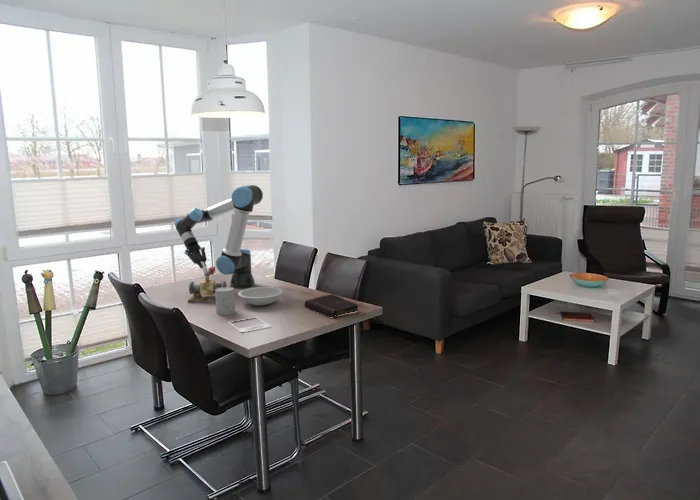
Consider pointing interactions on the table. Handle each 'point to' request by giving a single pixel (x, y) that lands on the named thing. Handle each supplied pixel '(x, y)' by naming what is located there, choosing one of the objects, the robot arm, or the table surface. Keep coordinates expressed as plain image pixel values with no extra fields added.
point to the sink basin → (260, 295)
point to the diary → (331, 305)
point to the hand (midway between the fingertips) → (205, 271)
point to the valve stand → (204, 290)
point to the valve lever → (210, 271)
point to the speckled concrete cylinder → (225, 300)
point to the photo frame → (252, 326)
